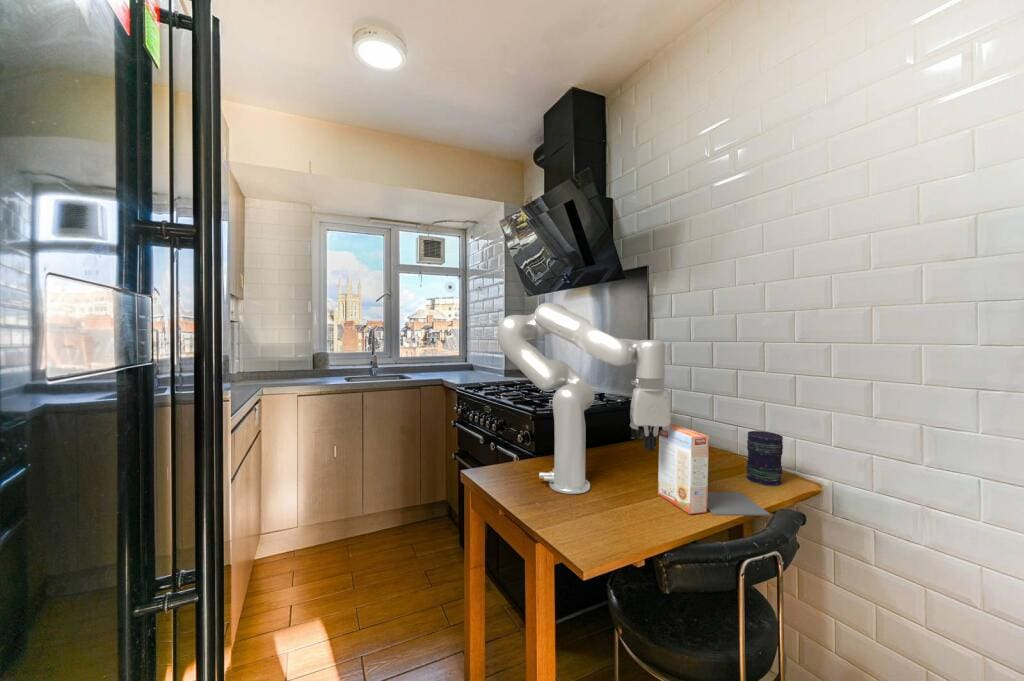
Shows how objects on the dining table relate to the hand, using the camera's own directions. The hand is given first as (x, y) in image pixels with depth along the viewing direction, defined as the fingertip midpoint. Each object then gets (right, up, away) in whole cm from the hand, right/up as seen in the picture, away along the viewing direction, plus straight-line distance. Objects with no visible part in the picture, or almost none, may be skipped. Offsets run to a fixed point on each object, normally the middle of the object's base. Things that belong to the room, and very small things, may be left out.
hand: (649, 449), depth 112 cm
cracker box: (+9, -16, 0) cm, 18 cm away
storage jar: (+43, -15, +18) cm, 49 cm away
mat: (+22, -15, 0) cm, 27 cm away
